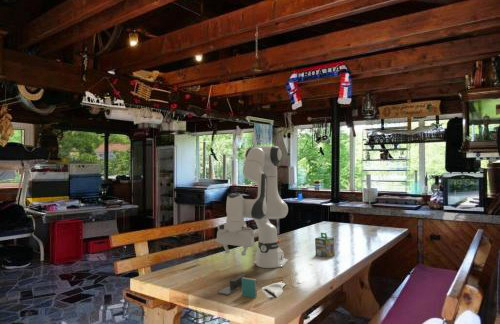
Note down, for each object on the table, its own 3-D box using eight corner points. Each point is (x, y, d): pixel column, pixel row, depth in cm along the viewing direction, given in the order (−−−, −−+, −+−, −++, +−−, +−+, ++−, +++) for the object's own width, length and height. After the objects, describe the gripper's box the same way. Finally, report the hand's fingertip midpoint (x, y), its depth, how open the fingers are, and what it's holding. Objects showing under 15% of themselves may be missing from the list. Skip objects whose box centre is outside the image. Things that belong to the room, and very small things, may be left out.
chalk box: (335, 255, 232) (334, 232, 232) (326, 257, 226) (325, 234, 226) (323, 252, 239) (323, 230, 239) (315, 255, 233) (314, 232, 233)
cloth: (273, 281, 184) (273, 276, 184) (298, 285, 177) (297, 280, 177) (248, 297, 161) (248, 292, 161) (275, 303, 155) (275, 297, 155)
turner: (239, 281, 183) (239, 273, 183) (249, 283, 180) (249, 275, 180) (217, 293, 166) (217, 285, 166) (228, 295, 163) (228, 287, 163)
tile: (243, 294, 164) (243, 277, 164) (256, 296, 161) (256, 279, 161) (241, 295, 163) (241, 278, 163) (255, 298, 159) (254, 280, 159)
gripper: (256, 226, 172) (256, 255, 172) (222, 224, 183) (222, 250, 182) (250, 228, 167) (250, 257, 167) (214, 225, 177) (215, 253, 177)
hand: (235, 254), depth 175 cm, fingers open, 8 cm apart
